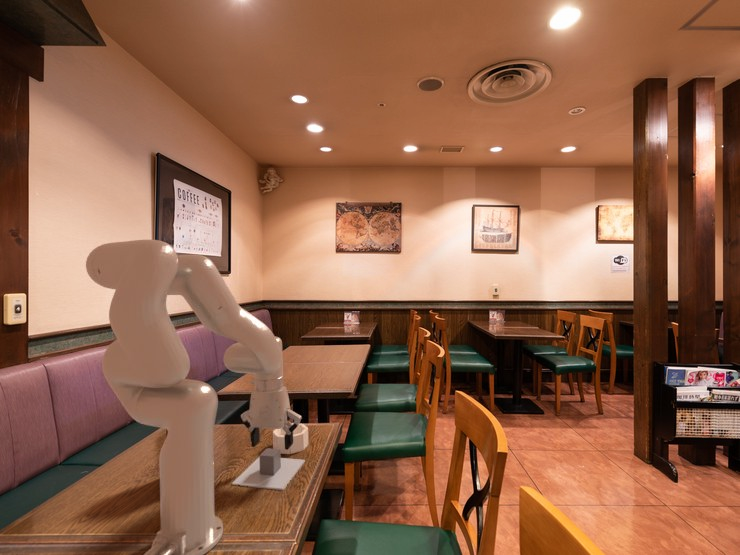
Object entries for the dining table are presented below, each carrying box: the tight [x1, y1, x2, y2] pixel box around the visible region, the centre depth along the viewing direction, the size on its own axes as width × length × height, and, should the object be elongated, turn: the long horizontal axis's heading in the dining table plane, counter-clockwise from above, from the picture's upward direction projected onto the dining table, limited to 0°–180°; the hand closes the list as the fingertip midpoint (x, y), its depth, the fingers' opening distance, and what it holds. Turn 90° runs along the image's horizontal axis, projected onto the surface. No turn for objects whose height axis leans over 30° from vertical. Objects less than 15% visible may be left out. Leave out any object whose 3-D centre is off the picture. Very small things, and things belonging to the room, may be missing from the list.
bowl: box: [272, 422, 309, 455], centre depth 110 cm, size 10×10×5 cm
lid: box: [231, 447, 306, 491], centre depth 95 cm, size 14×14×6 cm
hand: (272, 445), depth 96 cm, fingers open, 9 cm apart
